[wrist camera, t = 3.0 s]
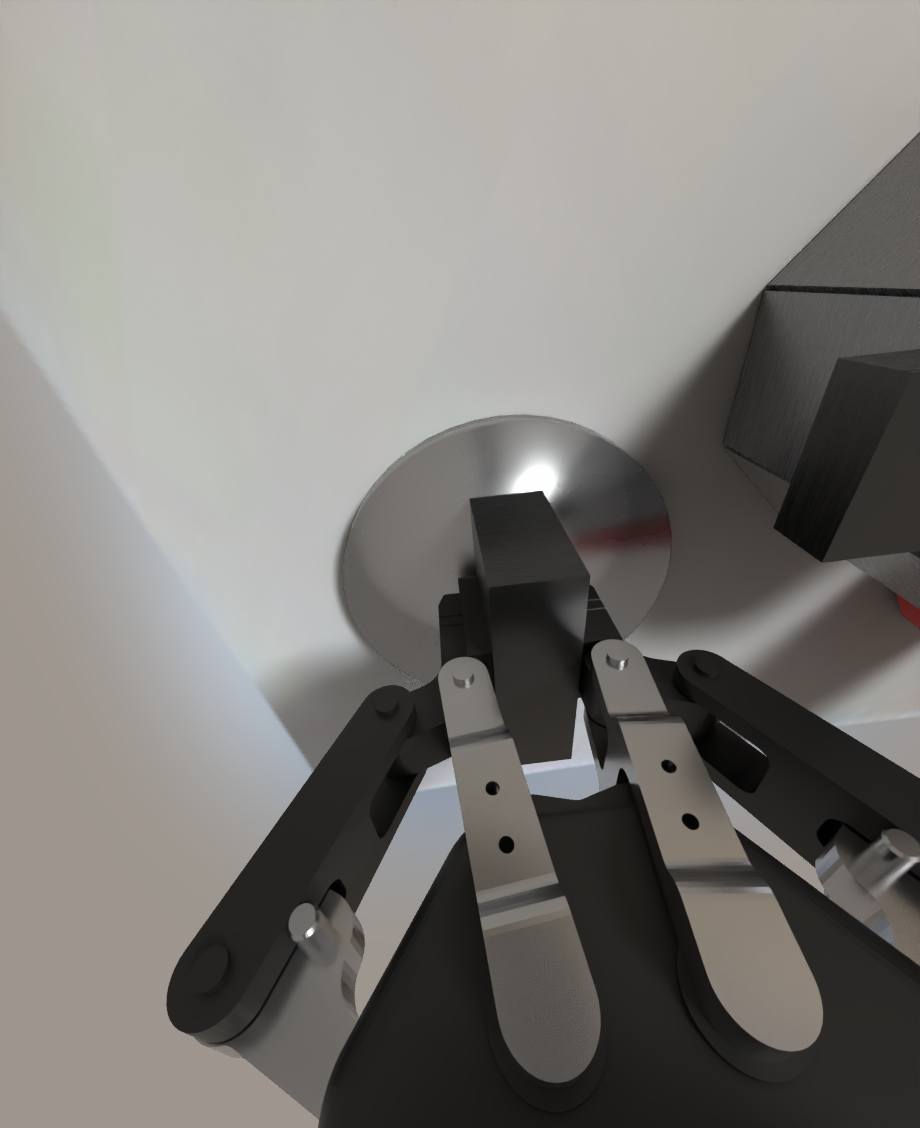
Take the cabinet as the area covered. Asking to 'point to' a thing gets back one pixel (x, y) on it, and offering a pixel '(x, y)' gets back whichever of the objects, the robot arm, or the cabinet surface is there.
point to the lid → (509, 558)
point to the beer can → (909, 611)
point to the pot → (843, 387)
